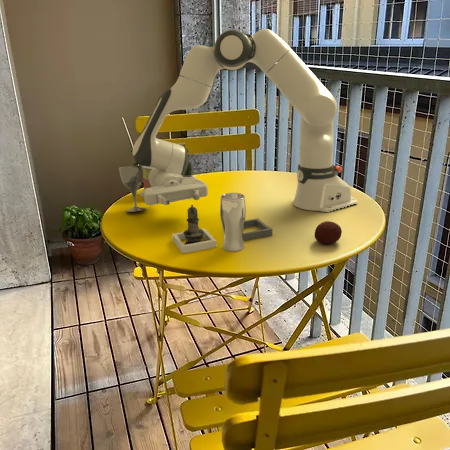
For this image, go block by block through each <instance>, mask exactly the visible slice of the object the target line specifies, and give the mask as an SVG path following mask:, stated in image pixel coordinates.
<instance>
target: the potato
mask: <svg viewBox="0 0 450 450" xmlns="http://www.w3.org/2000/svg"><path fill="white" fill-rule="evenodd" d="M342 232H343V231H342V228H341V226H340V225H339V224H338V223H336V222H333V221H330V220H329V221H328V220H326V221H322V222H321V223H319V224H318V225H317V226H316V228H315V230H314V239H315V240H316V242H318V243H320V244H325V245H330V244H331V245H332V244H335V243H336V242H338V241H339V240H340V239H341V236H342V235H343V233H342Z"/></svg>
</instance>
